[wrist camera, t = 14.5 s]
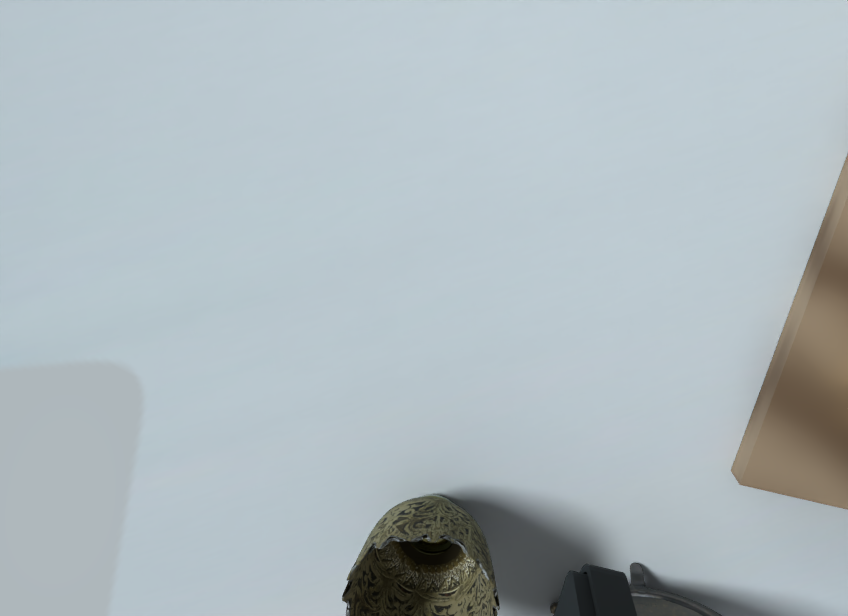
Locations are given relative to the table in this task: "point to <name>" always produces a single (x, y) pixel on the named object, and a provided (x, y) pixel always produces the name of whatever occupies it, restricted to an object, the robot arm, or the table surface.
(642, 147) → the table surface
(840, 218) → the gear board
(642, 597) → the alarm clock
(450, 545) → the cup
